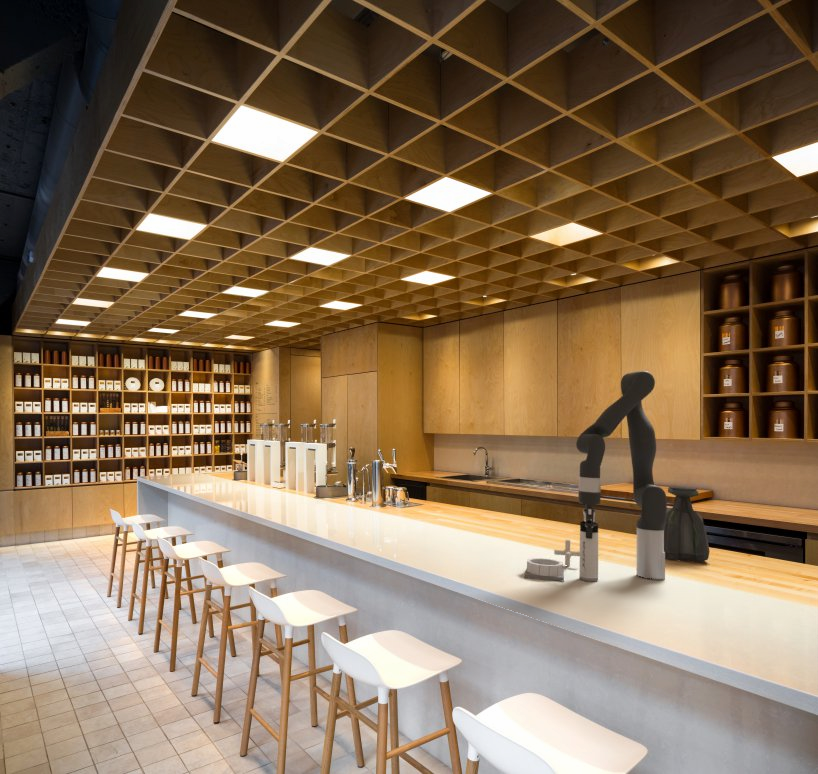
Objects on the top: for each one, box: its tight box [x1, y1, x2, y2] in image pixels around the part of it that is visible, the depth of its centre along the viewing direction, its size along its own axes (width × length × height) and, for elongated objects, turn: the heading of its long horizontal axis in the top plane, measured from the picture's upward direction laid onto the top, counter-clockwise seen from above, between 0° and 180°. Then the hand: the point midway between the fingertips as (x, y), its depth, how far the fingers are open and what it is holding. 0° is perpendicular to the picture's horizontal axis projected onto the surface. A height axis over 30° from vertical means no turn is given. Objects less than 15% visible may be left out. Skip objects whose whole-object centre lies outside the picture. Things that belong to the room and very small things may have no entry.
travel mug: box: [578, 520, 600, 582], centre depth 203 cm, size 6×7×20 cm
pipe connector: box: [553, 539, 580, 567], centre depth 223 cm, size 10×10×10 cm
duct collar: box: [524, 557, 565, 582], centre depth 207 cm, size 13×13×5 cm
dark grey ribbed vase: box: [664, 486, 710, 563], centre depth 249 cm, size 18×16×30 cm
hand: (588, 536), depth 204 cm, fingers open, 8 cm apart
